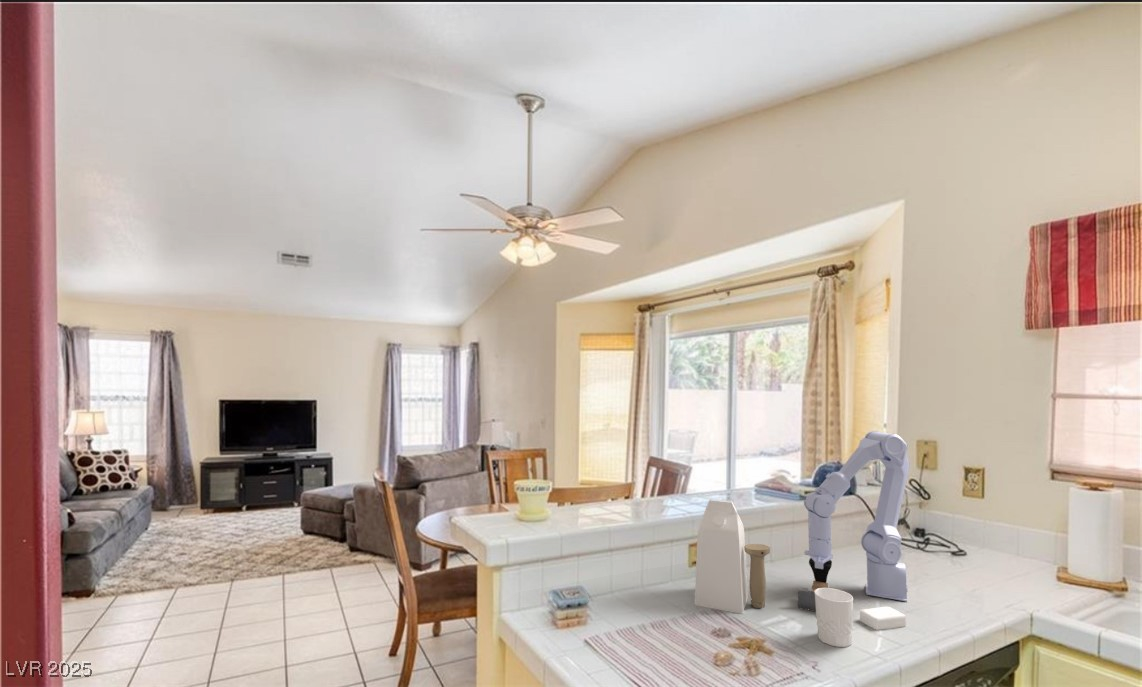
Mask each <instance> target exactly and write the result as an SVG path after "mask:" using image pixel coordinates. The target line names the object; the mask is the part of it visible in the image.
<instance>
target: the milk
mask: <svg viewBox="0 0 1142 687" xmlns="http://www.w3.org/2000/svg"><path fill="white" fill-rule="evenodd" d="M733 502H734V501H732V500H729V501H728V500H723V499H722V500H720V499H712V498H711V499H709V500H708V502H707V505H706V507H705V510H704V513H703V515H702V519H701V521H700V524H699V526H698V531H697V536H696V537H697V538H696V539H697V541H696V542H697V543H696V563H695V581H694V583H695V584H694V588H695V589H694V605H695V606H700V607H704V608H711V609H715V610H720V611H725V612H726V611H727V612H731V613H736V614H741V615H743V614H744V611H745V607H746V606H747V605H746V604H747V601H748V597H749V593H748V577H747V575H748V573H747V572H748V571H747V558H746V554H747V553H746V552H745V550H744V546H745V545H746V541H745V539H746V538H745V536H746V535H745V528H744V527H745V526H744V524H743V521H742V520H741V517H740V515H739V513H738V511H737V508H736V506H735V504H734V503H733Z"/></svg>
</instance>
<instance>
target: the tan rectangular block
mask: <svg viewBox="0 0 1142 687" xmlns="http://www.w3.org/2000/svg"><path fill="white" fill-rule="evenodd" d="M818 588H829V583H828V582H826V583H824V582H818V581H815V580H813V582H812V586H811V590H810V591H814V592H815V590H816V589H818Z"/></svg>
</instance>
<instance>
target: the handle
mask: <svg viewBox="0 0 1142 687" xmlns="http://www.w3.org/2000/svg"><path fill="white" fill-rule="evenodd" d="M744 550H745V553H746V554H748V555H749V557H750V565H749V566H750V567H749V568H750V569H749V594H750V603H751V606H752V607H754V608H755V609H763V608H764V607H765V606H766V605H765V604H766V593H767V590H766V588H767V586H766V573H765V570H766V569H765V557H766V556H767V555H769V554H770V552H771V548H770V546H768V545H766V544H763V543H762V544H760V543H749V544H745V546H744Z"/></svg>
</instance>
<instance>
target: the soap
mask: <svg viewBox="0 0 1142 687" xmlns="http://www.w3.org/2000/svg"><path fill="white" fill-rule="evenodd" d="M859 621H860V622H862V623H863V624H865V625H866V626H868V627H871V628H872V629H873V628H874V629H873V630H875V629H876V630H875V631H881V630H882V629H883V630H889V628H891V629H896V628H897V629H898V628H904V627H906V626H907V617H906V614H904V613H901V611H898V610H897V609H894V608H892V607H890V606H881V607H879V606H878V607H871V608H865V609H859Z"/></svg>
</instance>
